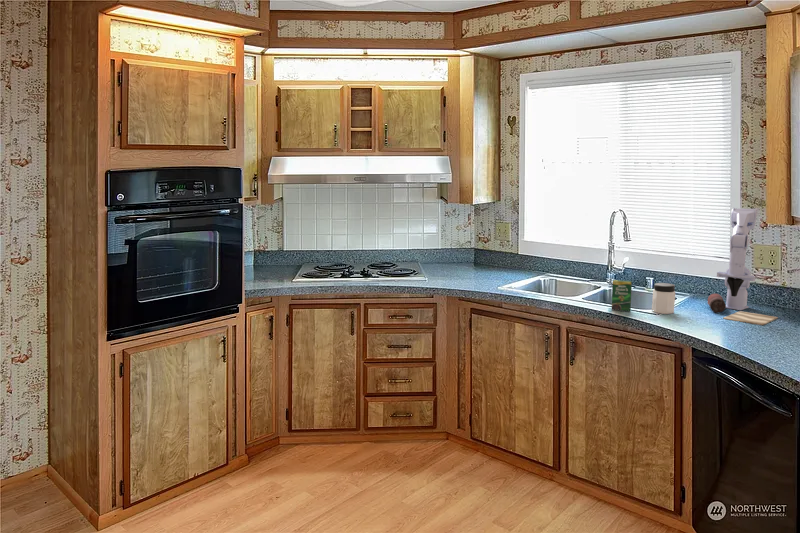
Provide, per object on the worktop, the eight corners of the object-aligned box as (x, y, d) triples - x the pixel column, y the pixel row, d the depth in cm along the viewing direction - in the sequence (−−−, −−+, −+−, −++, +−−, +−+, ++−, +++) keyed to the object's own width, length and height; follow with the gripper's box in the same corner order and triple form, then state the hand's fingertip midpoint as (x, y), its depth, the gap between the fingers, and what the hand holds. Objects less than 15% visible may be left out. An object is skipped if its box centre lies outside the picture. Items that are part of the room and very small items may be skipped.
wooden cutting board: (739, 312, 287) (739, 311, 287) (777, 318, 277) (777, 317, 277) (723, 318, 275) (723, 317, 275) (762, 325, 264) (762, 324, 264)
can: (711, 314, 286) (708, 308, 299) (727, 311, 284) (723, 304, 297) (707, 301, 286) (704, 295, 299) (723, 297, 284) (720, 291, 297)
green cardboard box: (610, 310, 289) (612, 280, 287) (611, 308, 292) (613, 279, 289) (630, 312, 286) (632, 281, 284) (630, 310, 288) (632, 280, 286)
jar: (649, 309, 291) (651, 282, 289) (668, 309, 291) (670, 282, 289) (656, 314, 282) (658, 286, 280) (676, 314, 282) (678, 286, 280)
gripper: (714, 262, 277) (712, 294, 279) (752, 266, 267) (748, 300, 269) (721, 260, 282) (718, 292, 284) (758, 265, 272) (755, 297, 274)
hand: (734, 296), depth 277 cm, fingers closed
